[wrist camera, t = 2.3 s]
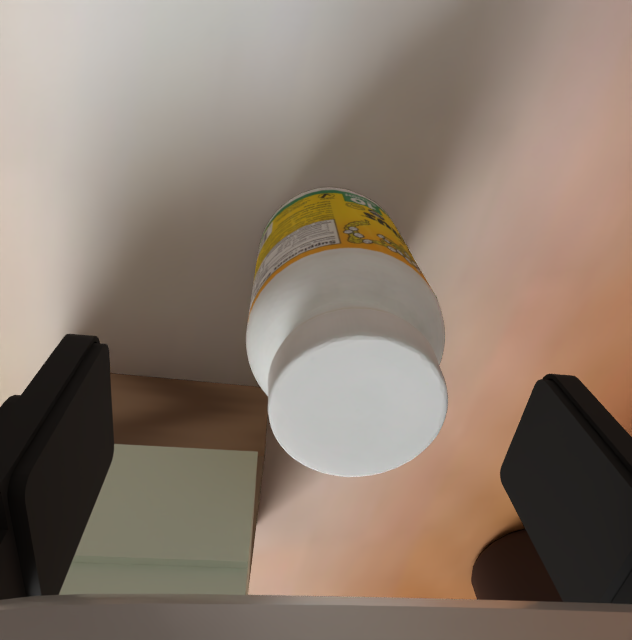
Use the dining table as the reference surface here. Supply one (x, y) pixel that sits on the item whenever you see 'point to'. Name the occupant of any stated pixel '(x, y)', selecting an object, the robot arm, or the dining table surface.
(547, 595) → the vinegar
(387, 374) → the supplement bottle
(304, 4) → the dining table surface
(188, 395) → the block lower
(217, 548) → the small green shelf
